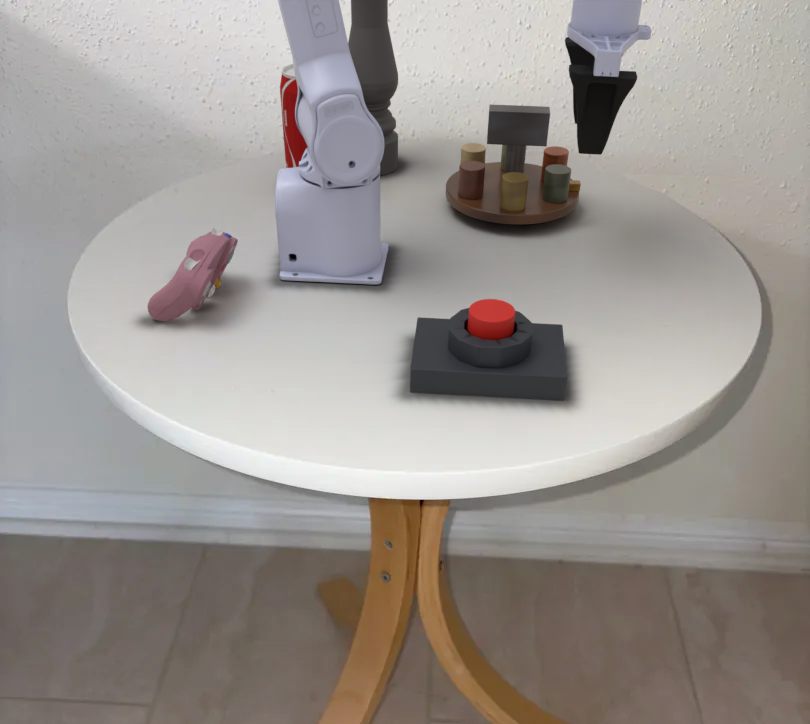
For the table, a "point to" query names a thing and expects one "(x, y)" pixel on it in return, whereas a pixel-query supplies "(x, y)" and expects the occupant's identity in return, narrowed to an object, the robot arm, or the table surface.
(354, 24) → the candle holder
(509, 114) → the spice carousel
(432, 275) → the table surface
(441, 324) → the timer block
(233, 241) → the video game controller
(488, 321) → the timer button
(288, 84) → the soda can
